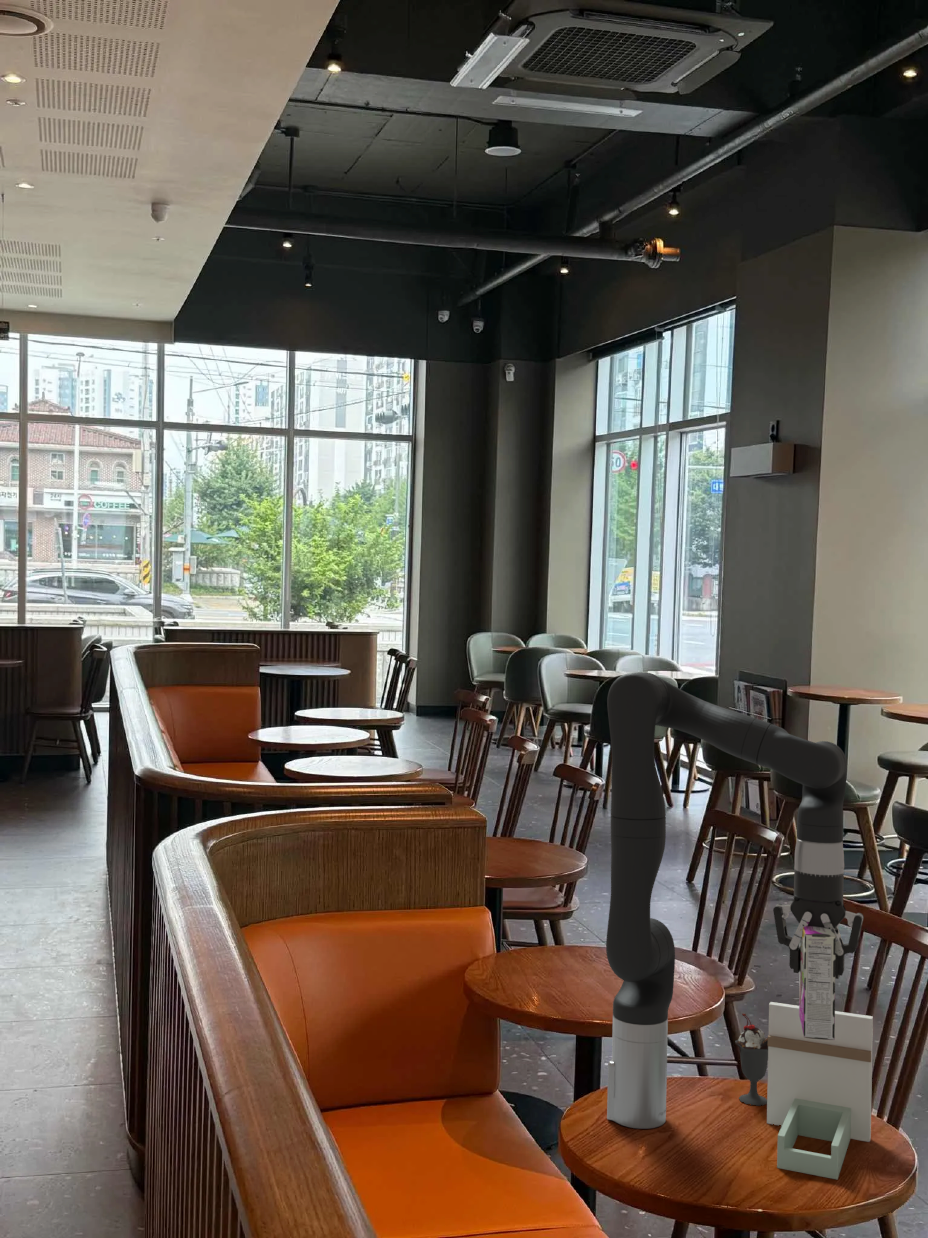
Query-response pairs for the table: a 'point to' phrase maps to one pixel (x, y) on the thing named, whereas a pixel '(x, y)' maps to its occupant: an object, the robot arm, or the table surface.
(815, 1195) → the table surface
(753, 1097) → the sundae
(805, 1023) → the candy bar box
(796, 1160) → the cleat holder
